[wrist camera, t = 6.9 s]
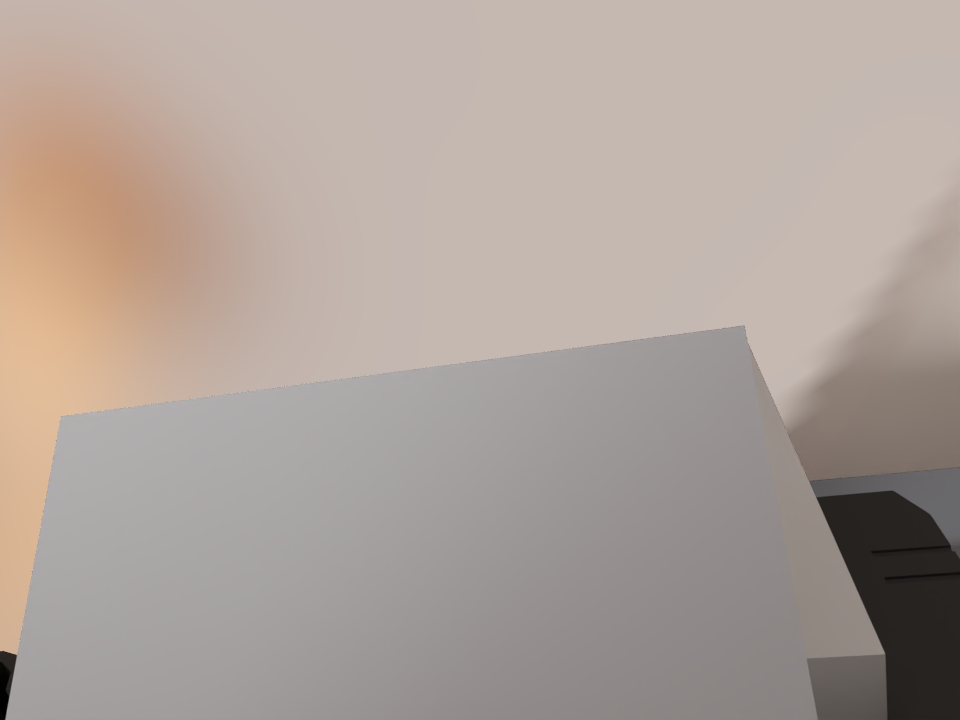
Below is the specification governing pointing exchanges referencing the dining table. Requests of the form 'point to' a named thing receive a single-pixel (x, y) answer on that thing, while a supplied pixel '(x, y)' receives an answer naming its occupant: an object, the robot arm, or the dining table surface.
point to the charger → (424, 549)
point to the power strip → (910, 494)
